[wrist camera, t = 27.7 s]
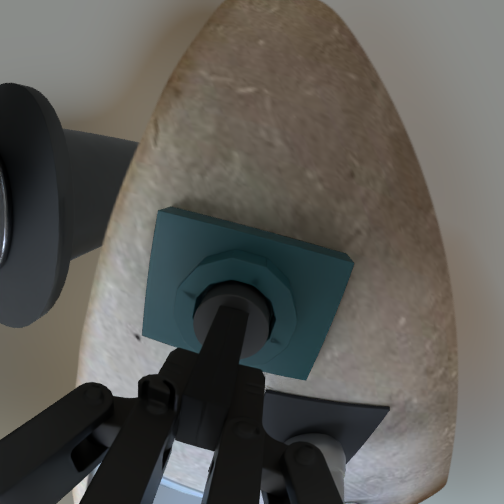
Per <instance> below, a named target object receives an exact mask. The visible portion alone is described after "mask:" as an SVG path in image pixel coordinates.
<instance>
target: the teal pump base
mask: <svg viewBox="0 0 504 504" xmlns="http://www.w3.org/2000/svg"><path fill="white" fill-rule="evenodd" d="M353 266H354V262H353V261H352V260H351V259H350V257H349V256H348V255H347V254H346V253H342V252H339V251H336V250H332V249H329V248H325V247H322V246H318V245H315V244H311V243H307V242H304V241H300V240H297V239H293V238H289V237H286V236H282V235H279V234H275V233H271V232H268V231H264V230H260V229H257V228H253V227H249V226H245V225H242V224H238V223H234V222H230V221H226V220H223V219H219V218H215V217H211V216H207V215H203V214H199V213H195V212H191V211H187V210H183V209H179V208H175V207H167V208H164V209H161V210H158V214H157V220H156V225H155V231H154V237H153V244H152V250H151V257H150V264H149V272H148V279H147V288H146V297H145V306H144V317H143V329H142V335H143V336H145V337H148V338H151V339H154V340H156V341H159V342H162V343H165V344H168V345H171V346H174V347H177V348H178V347H180V348H183V349H186V350H189V351H192V352H196V353H199V352H200V350H201V348H202V345H201V344H200V342H199V341H198V339H197V337H196V335H195V332H194V328H193V320H194V315H195V313H196V310H197V309H198V307H199V305H200V304H201V302H202V300H203V299H204V297H205V295H206V294H207V292H208V291H209V290H210V289H211V288H212V287H214V286H215V285H217V284H219V283H222V282H226V281H239V282H243V283H246V284H250V285H252V286H254V287H255V288H257V289H258V290H259V291H260V292H261V293H262V294H263V295H264V297H265V298H266V300H267V302H268V305H269V309H270V320H269V334H268V338H267V341H266V343H265V345H264V346H263V347H262V348H261V350H259V351H258V352H257V353H256V354H254V355H252V356H250V357H248V358H245V359H240V361H239V364H241V365H245V366H249V367H254V368H258V369H261V370H262V371H263V372H267V373H271V374H276V375H281V376H285V377H290V378H295V379H300V380H306V379H307V377H308V375H309V373H310V371H311V369H312V367H313V364H314V362H315V360H316V358H317V356H318V354H319V351H320V349H321V347H322V345H323V342H324V340H325V338H326V335H327V333H328V331H329V328H330V326H331V324H332V321H333V319H334V316H335V314H336V311H337V309H338V306H339V304H340V301H341V299H342V296H343V293H344V291H345V288H346V286H347V283H348V280H349V277H350V275H351V272H352V269H353Z"/></svg>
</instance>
